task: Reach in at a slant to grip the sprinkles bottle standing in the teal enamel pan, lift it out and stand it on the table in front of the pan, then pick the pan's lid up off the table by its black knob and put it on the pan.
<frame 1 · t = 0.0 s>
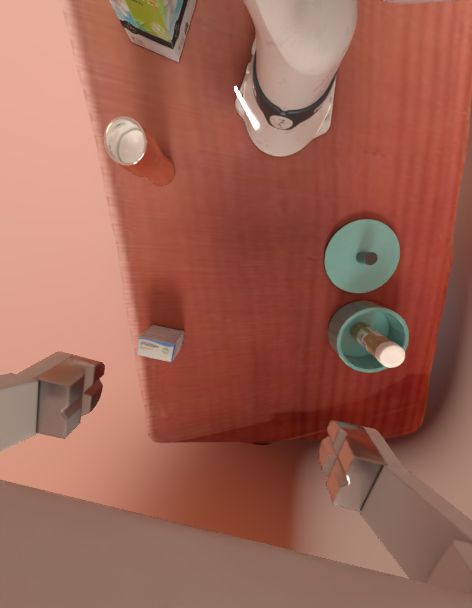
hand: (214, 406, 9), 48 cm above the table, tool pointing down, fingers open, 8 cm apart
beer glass: (160, 170, 51), on the table
pan: (359, 330, 57), on the table
medicine box: (168, 335, 60), on the table
sprinkles bottle: (359, 330, 57), resting on pan
pan lid: (360, 257, 53), point 1 cm above the table
tea box: (168, 8, 45), on the table
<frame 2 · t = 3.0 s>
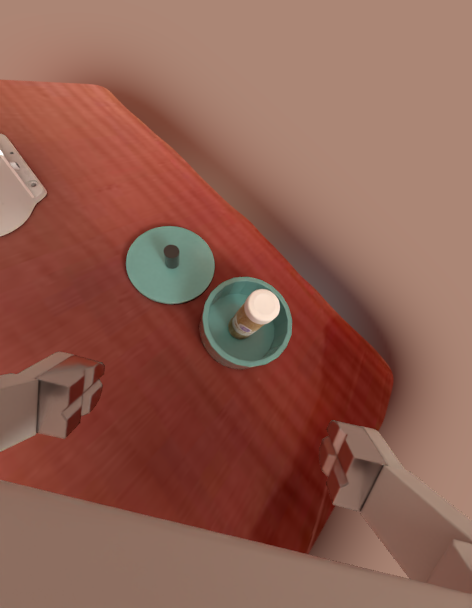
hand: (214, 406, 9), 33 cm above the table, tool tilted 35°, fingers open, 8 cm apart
pan: (239, 327, 44), on the table
sprinkles bottle: (240, 327, 44), resting on pan
pan lid: (172, 264, 45), point 1 cm above the table
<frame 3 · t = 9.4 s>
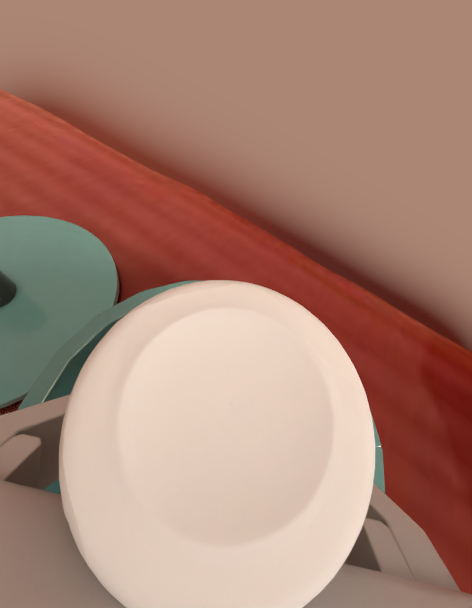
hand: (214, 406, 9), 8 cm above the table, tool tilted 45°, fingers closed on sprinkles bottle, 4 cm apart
pan: (205, 434, 15), on the table
sprinkles bottle: (205, 434, 15), resting on pan, touching gripper
pan lid: (1, 298, 17), point 1 cm above the table
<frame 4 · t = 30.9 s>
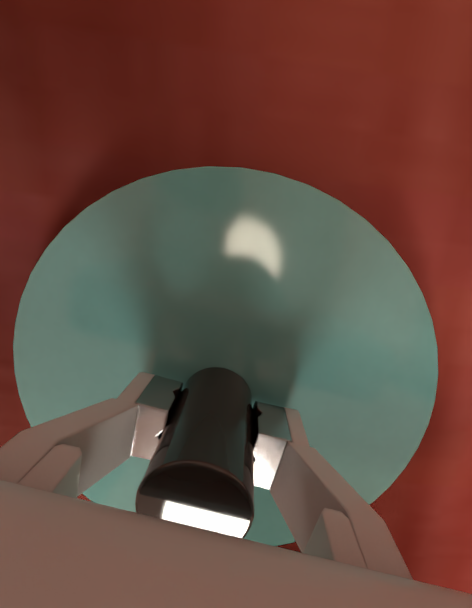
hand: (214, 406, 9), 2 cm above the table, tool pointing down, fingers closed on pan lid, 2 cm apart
pan lid: (219, 388, 10), point 1 cm above the table, touching gripper
when the fingers open (7 cm above the table, at t = 39.2 s): pan lid stays where it is, resting on pan.
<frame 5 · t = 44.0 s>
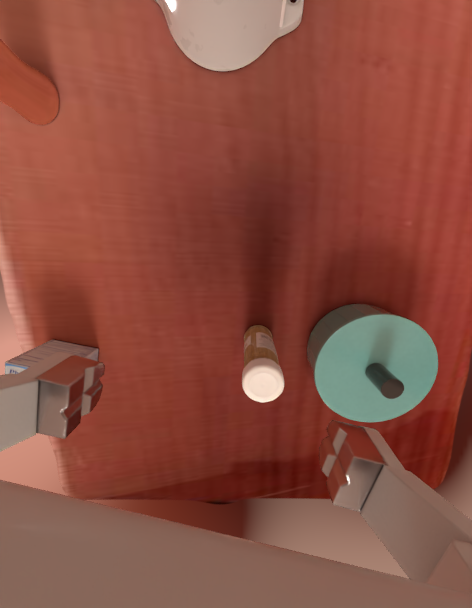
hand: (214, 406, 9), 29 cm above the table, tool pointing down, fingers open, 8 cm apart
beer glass: (38, 99, 32), on the table
pan: (353, 348, 38), on the table
medicine box: (76, 354, 41), on the table
sprinkles bottle: (258, 337, 39), on the table
pan lid: (372, 369, 32), point 6 cm above the table, touching pan
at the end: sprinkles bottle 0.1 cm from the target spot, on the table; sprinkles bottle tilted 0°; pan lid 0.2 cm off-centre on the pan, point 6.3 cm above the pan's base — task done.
